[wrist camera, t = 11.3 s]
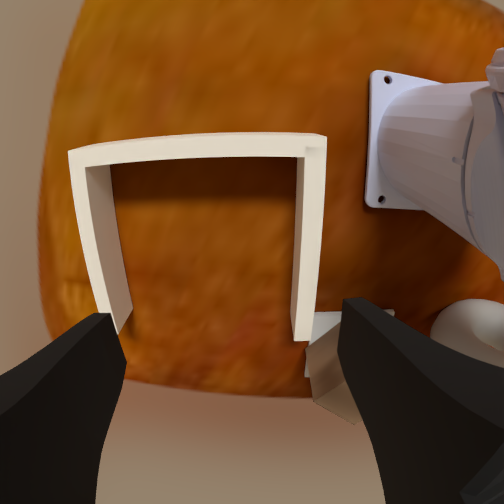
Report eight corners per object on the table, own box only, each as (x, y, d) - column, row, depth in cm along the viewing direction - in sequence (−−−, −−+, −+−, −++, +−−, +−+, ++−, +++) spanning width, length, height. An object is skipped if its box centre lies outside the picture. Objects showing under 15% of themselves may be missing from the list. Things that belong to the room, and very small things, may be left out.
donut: (506, 286, 20) (574, 357, 11) (493, 320, 21) (551, 394, 12) (415, 291, 20) (483, 392, 11) (403, 330, 22) (455, 432, 12)
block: (354, 310, 20) (374, 360, 16) (387, 342, 22) (408, 389, 17) (304, 348, 22) (313, 401, 17) (341, 375, 23) (354, 424, 18)
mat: (393, 309, 21) (394, 312, 20) (375, 368, 23) (376, 372, 23) (312, 312, 21) (313, 315, 21) (304, 373, 23) (304, 377, 23)
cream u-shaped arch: (315, 133, 16) (326, 136, 13) (304, 312, 21) (310, 340, 18) (93, 144, 17) (68, 150, 14) (120, 307, 21) (105, 332, 18)
